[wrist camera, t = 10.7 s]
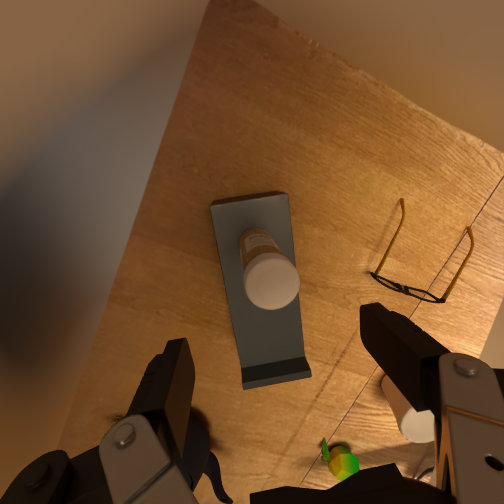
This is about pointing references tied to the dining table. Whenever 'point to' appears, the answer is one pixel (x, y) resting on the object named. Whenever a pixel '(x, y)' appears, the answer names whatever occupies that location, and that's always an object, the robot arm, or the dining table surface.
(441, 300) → the eyeglasses
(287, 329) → the shelf
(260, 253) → the sprinkles bottle
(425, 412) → the cup
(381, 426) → the dining table surface
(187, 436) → the teapot
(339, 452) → the apple
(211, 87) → the dining table surface
